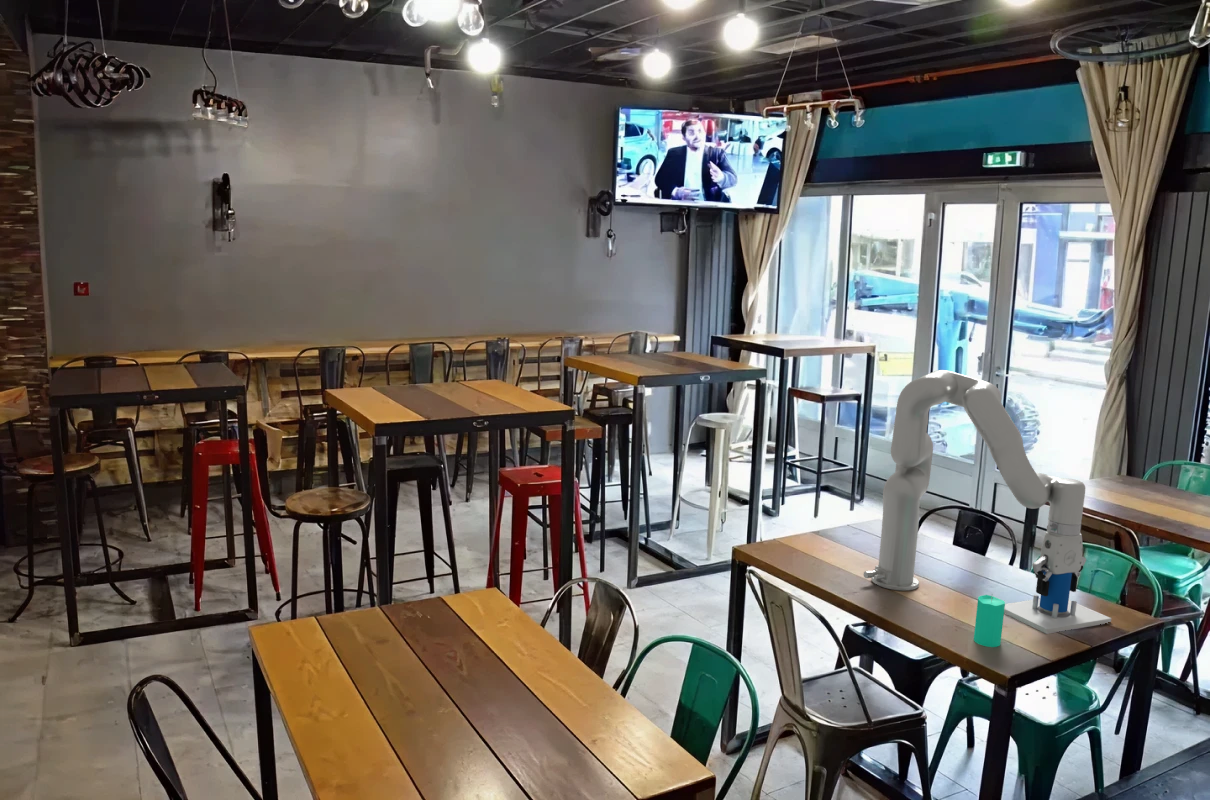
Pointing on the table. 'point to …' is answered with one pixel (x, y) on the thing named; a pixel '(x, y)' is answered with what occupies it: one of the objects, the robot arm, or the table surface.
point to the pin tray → (1054, 616)
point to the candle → (989, 621)
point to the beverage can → (1057, 593)
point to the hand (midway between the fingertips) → (1055, 592)
